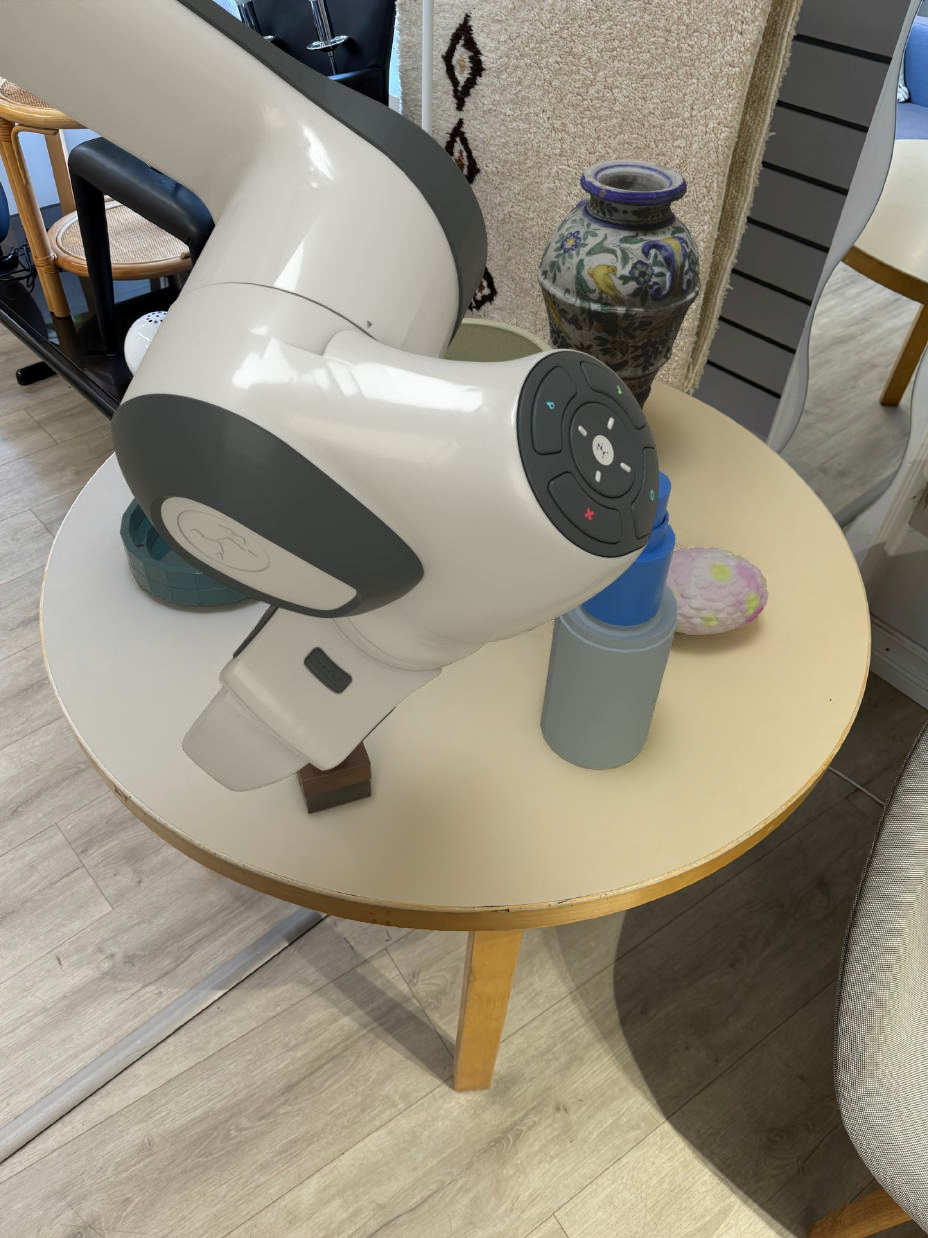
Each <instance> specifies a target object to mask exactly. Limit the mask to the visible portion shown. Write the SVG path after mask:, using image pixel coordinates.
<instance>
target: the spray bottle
mask: <svg viewBox="0 0 928 1238" xmlns="http://www.w3.org/2000/svg"><path fill="white" fill-rule="evenodd" d="M671 492H672V482H671V480H670V478H669V476H667V475H666V474H665V473H664V472H662V471H660V470H659V495H658V504H657V510H656V516H655V521H654V525H653V529H652V532H651V535H650V538H649V540H648V543H647V545H646V546H645V548H644V549H643V551H642V552H641V554H640V555H639V556H638V558H637V559H636V560H635V561H634V562H633V563H632V565H631V566H630V567H629V568H628V569H627V570H626V571H625V572H624V573H623V574H621V575H620V576H619V577H618V578H617V579H616V580H615V581H614V582H613V583H611V584H610V585H609V586H607V587H606V588H605V589H603V590H602V591H601V592H599V593H598V594H596V595H595V596H593V597H592V598H590V599H589V600H587V601H586V602H584V603H582V604H581V605H579V606H577V607H576V608H574V609H572V610H570V611H569V612H567V613H565V614H563V615H561V616H559V617H557V618H555V619H554V623H553V630H552V637H551V645H550V650H549V651H550V652H549V659H548V666H547V673H546V680H545V689H544V696H543V704H542V710H541V716H540V723H539V725H540V729H541V734H542V736H543V739H544V741H545V742H546V743H547V745H548V746H549V748H550V749H551V751H553V752H554V753H555V754H557V755H558V756H559V757H560V758H561V759H563V760H564V761H566V762H568V763H570V764H573V765H575V766H578V767H579V768H585V769H593V770H608V769H616V768H618V767H621V766H623V765H625V764H629V763H630V762H631V761H633V760H634V759H635V758H636V757H637V756H638V755H639V754H640V753H641V752H642V749H643V747H644V746H645V743H646V741H647V738H648V734H649V731H650V726H651V723H652V719H653V715H654V712H655V708H656V704H657V701H658V697H659V694H660V690H661V687H662V682H663V678H664V675H665V672H666V668H667V664H668V660H669V656H670V652H671V650H672V645H673V642H674V637H675V634H676V627H677V601H676V599H675V596H674V594H673V592H672V590H671V589H670V588H669V587H668V586H667V585H666V580H667V576H668V572H669V568H670V564H671V560H672V555H673V552H674V551H675V548H676V547H675V546H676V534H675V531H674V529H673V528H672V526H671V525H670V524H669V521H670V513H669V512H668V504H669V500H670V496H671Z"/></svg>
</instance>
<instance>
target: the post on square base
mask: <svg viewBox="0 0 928 1238" xmlns="http://www.w3.org/2000/svg"><path fill="white" fill-rule="evenodd" d="M295 774H296V776H297V777H296V778H297V780H298V784H299V787H300V790H301V795H302V798H303V800H304V805H305V808H306V810H307V814H308V815H311V814H314V813H319V812H322V811H326V810H329V809H332V808H336V807H339V806H343V805H345V804H350V803H353V802H356V801H360V800H364V799H367V798H371V797H372V785H371V779H372V778H373V777H372V764H371V760H370V757H369V754H368V751H367V749H366V746H365V743H364V741H363V742H362V743H361V744H360V745H359V746H358V747H357V748H356V749H354V750H353V751H352V752H351V753H350V754H349V755H348V756H347V757H346V758H345V760H344V761H342V762H341V763H340V764H339V765H337V766H335V767H334V768H331V769H329V770H320V769H318V768H317V767H315V766H314V765H312V764H311V763H308V764H307V765H305V766H304V767H303V768H301V769H300V770H299V771H297V772H296V773H295Z"/></svg>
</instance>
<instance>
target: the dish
mask: <svg viewBox="0 0 928 1238" xmlns="http://www.w3.org/2000/svg"><path fill="white" fill-rule="evenodd" d="M119 535H120V538H121V541H122V544H123V548H124V551H125V555H126V558H127V562H128V565H129V568H130V569H131V572H132V574H133V577H134V580H135V581H136V582H137V584H139V585H140V586H142V587H143V588H144V589H145V590H146V591H147V592H148V593H150V594H151V595H153V596H155V597H158V598H161V599H163V600H165V601H169V602H171V603H175V604H180V605H188V606H189V605H190V606H197V607H208V606H217V605H227V604H228V605H229V604H233V603H236V602H239V601H242V600H246V599H250V597H249V596H247V595H244V594H242V593H240V592H238V591H236V590H233V589H231V588H229V587H228V586H226V585H224V584H222V583H220V582H218V581H216V580H214V579H213V578H211V577H209V576H207V575H206V574H204V573H202V572H201V571H199V570H197V569H196V568H194V567H193V566H191V565H190V564H188V563H187V562H186V561H184V560H183V559H182V558H181V557H180V556H178V555H177V554H176V553H175V552H174V551H173V550H172V549H171V548H170V547H169V546H168V545H167V544H166V542H165V541H164V540H163V539H162V537H161V536H160V534H159V533H158V532H157V530H156V529H155V528H154V526H153V525H152V523H151V522H150V521H149V519H148V518H147V516H146V515H145V513H144V511H143V510H142V508H141V507H140V505H139V504H138V502H137V500H136V499H135V497H134V498H133V499H132V500H131V502H130V503H129V505H128V506H127V508H126V509H125V511H123V514H122V516H121V522H120V529H119Z"/></svg>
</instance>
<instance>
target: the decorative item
mask: <svg viewBox="0 0 928 1238" xmlns="http://www.w3.org/2000/svg"><path fill="white" fill-rule="evenodd" d="M666 585H667V586H668V587H669V588H670V589H671V590H672V592H673V594H674V596H675V599H676V601H677V627H676V631H675V633H683V634H685V635H690V636H698V635H700V636H701V635H702V636H704V635H715V634H721V633H725V632H729V631H732V630H736V629H738V628H741V627H743V626H745V625H747V624H748V623H751V622H753V621H755V620H756V619H757V618H758V616H759V615H760V614H761V613H762V612H763V610H764V608H765V606H767V604H768V599H769V590H768V589H767V588H768V585H767V578H766V577H765V576H763V572H762V571H761V569H760V568H759V567H758V566H757V565H755V564H753V563H751V562H750V561H749V560H748V559H747V558H745V557H743V556H742V555H740V554H735V553H734V552H733V551H729V550H726V549H725V550H724V549H720V548H717V547H708V548H705V547H701V546H695V547H692V548H689V549H688V548H679V549H677V550H676V551H675V550H674V551H673V555H672V560H671V564H670V568H669V572H668V576H667V580H666Z"/></svg>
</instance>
